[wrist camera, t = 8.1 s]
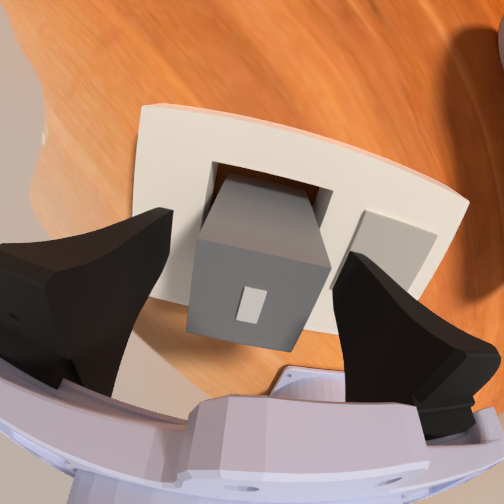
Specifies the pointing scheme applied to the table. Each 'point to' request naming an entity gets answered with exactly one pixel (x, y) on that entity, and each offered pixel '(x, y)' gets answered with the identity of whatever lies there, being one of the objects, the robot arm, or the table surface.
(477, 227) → the table surface
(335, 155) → the white slotted base
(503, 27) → the game controller
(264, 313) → the block
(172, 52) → the table surface
